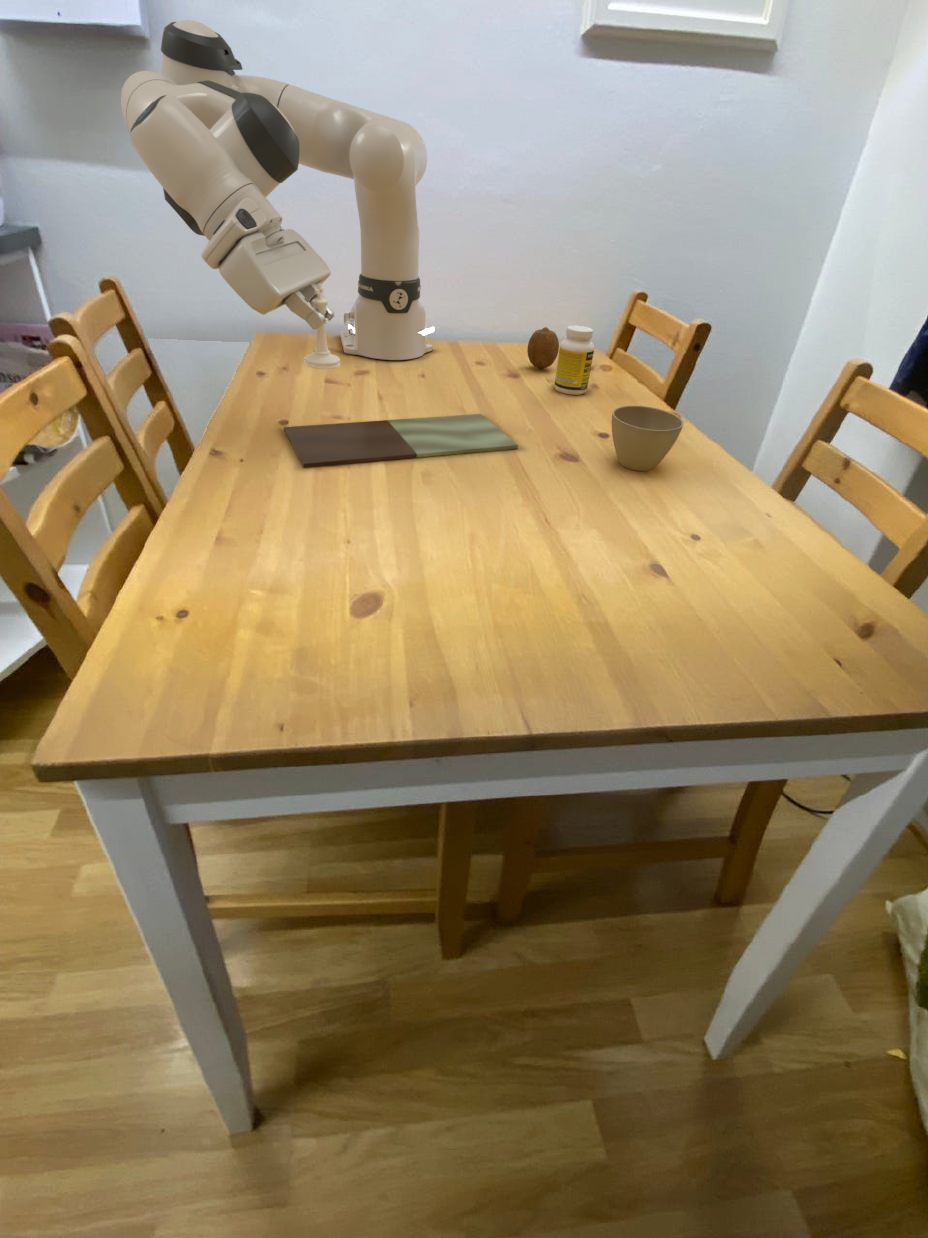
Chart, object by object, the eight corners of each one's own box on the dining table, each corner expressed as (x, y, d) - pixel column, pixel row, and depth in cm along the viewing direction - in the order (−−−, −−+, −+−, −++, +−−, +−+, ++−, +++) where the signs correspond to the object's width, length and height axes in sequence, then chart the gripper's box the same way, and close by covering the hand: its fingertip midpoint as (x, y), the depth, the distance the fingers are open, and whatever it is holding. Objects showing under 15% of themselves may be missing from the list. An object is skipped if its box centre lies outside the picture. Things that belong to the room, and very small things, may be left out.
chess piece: (346, 362, 97) (345, 283, 91) (329, 371, 93) (326, 289, 87) (315, 356, 98) (311, 278, 92) (297, 364, 94) (292, 283, 88)
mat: (283, 430, 103) (283, 426, 103) (480, 417, 115) (480, 413, 114) (303, 467, 93) (303, 463, 93) (517, 448, 104) (518, 444, 104)
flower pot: (596, 469, 100) (605, 420, 96) (610, 447, 108) (619, 400, 104) (666, 484, 97) (679, 434, 93) (675, 460, 105) (687, 413, 101)
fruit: (560, 372, 140) (567, 330, 135) (532, 373, 138) (537, 331, 133) (547, 364, 145) (553, 323, 140) (520, 364, 143) (525, 323, 138)
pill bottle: (585, 397, 128) (596, 334, 121) (552, 392, 128) (561, 329, 122) (587, 387, 133) (598, 326, 126) (555, 383, 133) (564, 322, 127)
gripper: (265, 239, 97) (335, 322, 102) (194, 259, 81) (280, 356, 85) (294, 206, 94) (364, 292, 99) (225, 219, 78) (314, 322, 82)
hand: (325, 322), depth 92 cm, fingers closed on chess piece
